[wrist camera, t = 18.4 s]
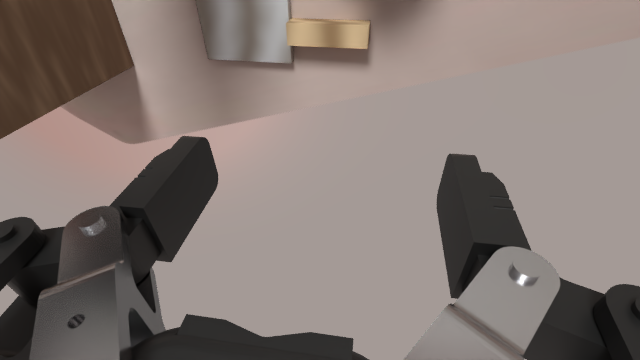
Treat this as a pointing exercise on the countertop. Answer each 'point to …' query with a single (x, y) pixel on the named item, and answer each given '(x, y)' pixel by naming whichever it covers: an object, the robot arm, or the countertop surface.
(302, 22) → the rectangular straight-edged part
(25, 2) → the plinth
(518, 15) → the countertop surface
